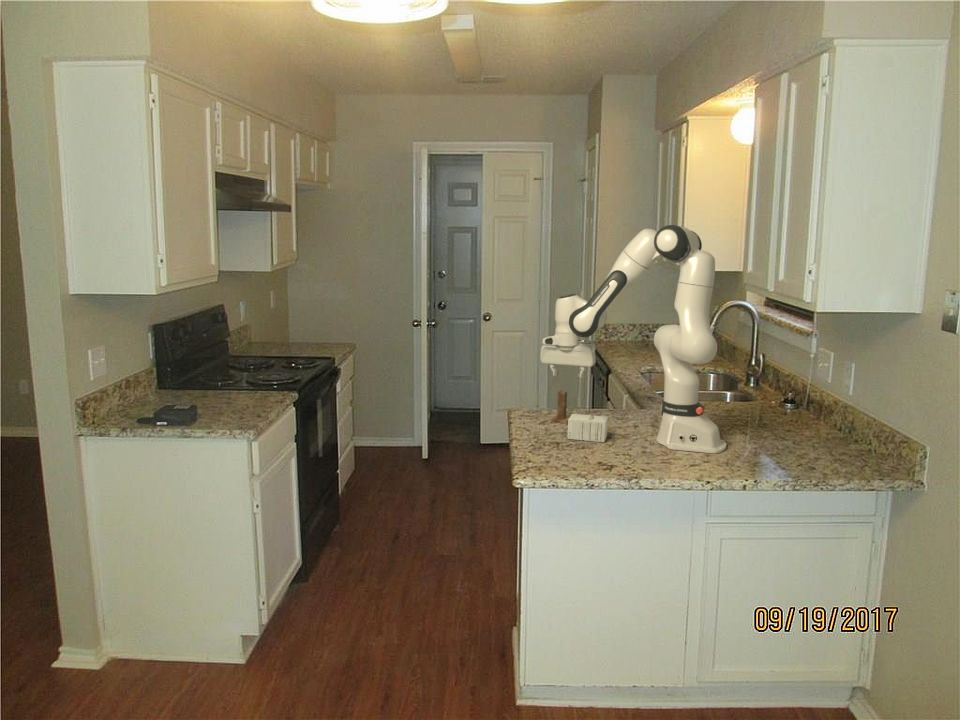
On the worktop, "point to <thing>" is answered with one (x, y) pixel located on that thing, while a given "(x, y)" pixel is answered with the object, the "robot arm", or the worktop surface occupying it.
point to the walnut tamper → (561, 409)
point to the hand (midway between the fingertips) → (567, 376)
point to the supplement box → (587, 427)
